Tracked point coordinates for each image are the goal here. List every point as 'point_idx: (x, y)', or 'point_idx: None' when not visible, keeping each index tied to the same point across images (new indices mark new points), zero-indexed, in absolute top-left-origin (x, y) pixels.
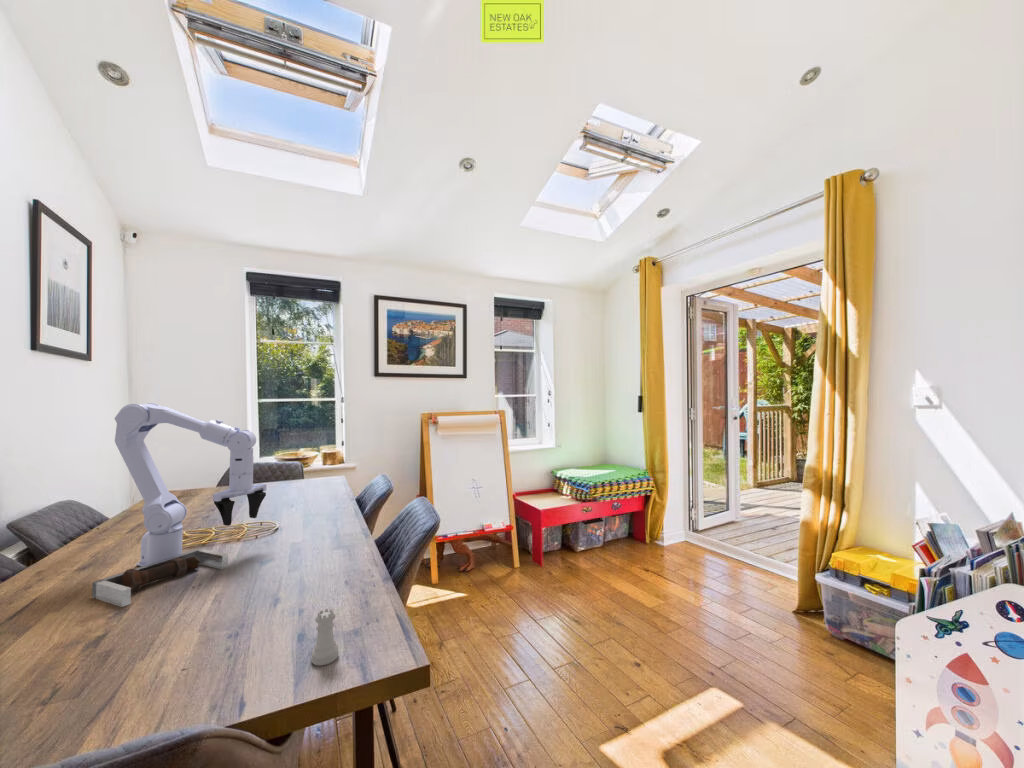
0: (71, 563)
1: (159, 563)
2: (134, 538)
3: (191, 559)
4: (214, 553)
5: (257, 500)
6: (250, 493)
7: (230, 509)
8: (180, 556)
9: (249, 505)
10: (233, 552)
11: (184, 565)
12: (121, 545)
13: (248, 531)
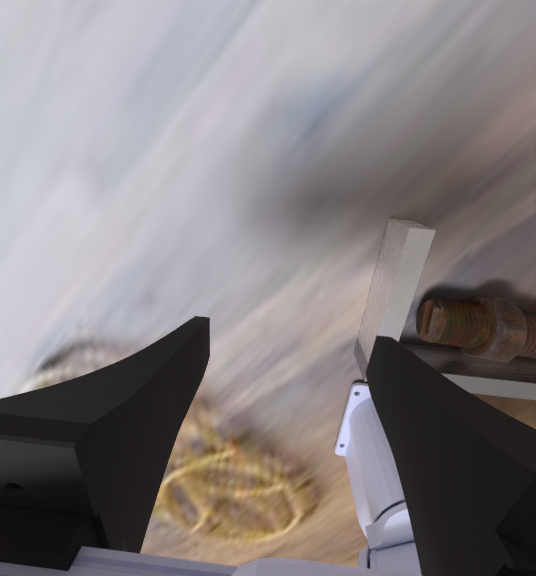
0: None
1: (515, 380)
2: None
3: (462, 324)
4: (409, 289)
5: (141, 396)
6: (151, 556)
7: (477, 411)
8: (448, 373)
9: (176, 429)
10: (264, 319)
11: (503, 307)
12: (306, 556)
13: None
